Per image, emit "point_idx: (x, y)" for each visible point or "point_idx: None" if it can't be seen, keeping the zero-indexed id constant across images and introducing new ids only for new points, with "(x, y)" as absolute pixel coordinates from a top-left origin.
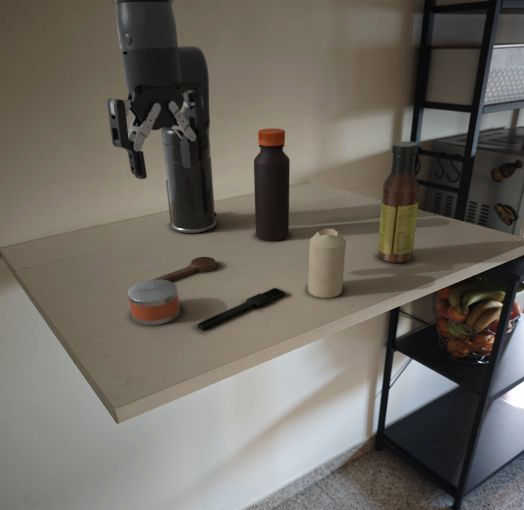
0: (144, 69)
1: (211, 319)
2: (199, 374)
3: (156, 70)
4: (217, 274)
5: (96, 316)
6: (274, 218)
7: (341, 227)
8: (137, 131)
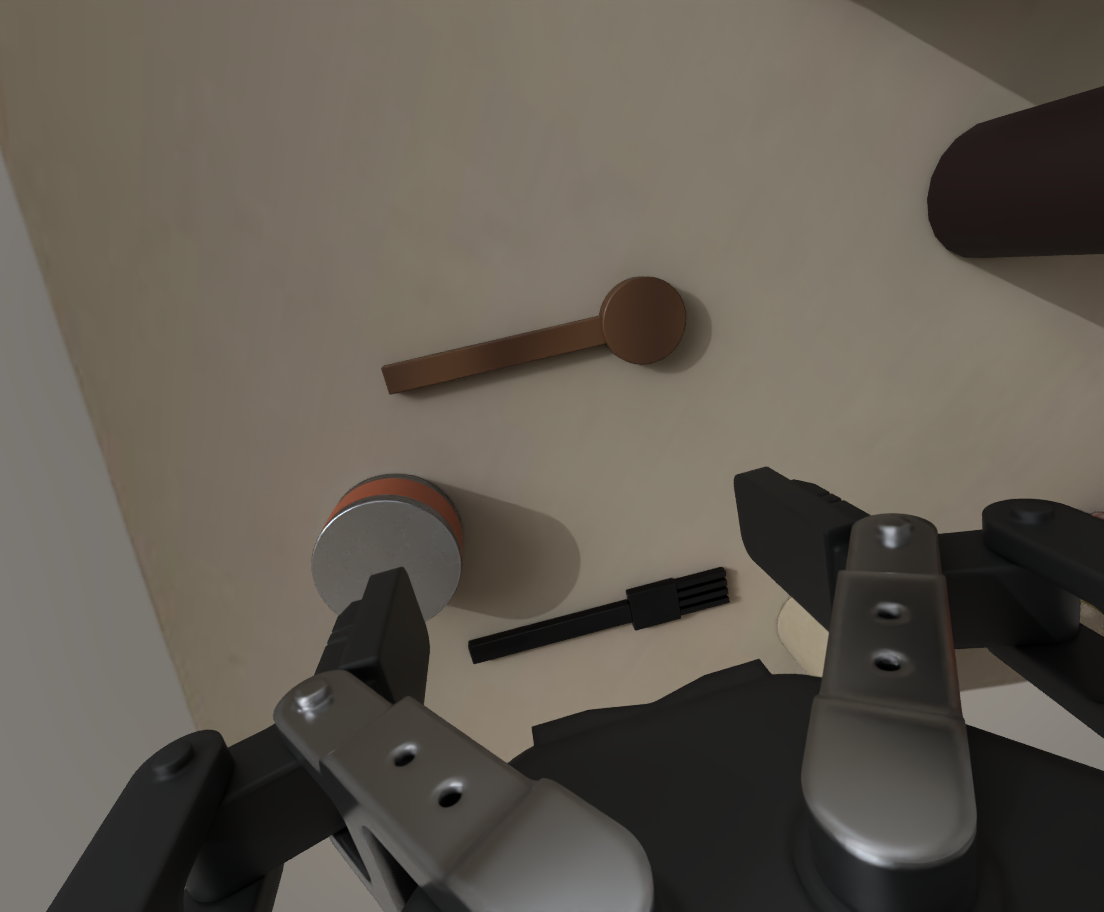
0: None
1: (506, 645)
2: None
3: None
4: (649, 395)
5: (233, 470)
6: (1024, 248)
7: None
8: (378, 892)
